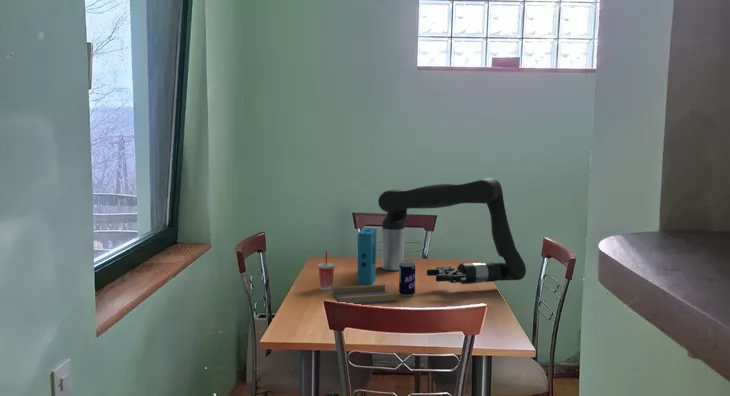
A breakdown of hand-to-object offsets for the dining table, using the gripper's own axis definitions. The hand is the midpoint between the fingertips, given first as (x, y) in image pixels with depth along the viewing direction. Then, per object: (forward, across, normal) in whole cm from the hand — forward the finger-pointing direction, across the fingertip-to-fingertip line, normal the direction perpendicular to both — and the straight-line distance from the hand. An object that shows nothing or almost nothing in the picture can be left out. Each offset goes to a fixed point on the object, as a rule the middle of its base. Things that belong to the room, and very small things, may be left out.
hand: (431, 275), depth 218 cm
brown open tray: (+25, 0, +6) cm, 26 cm away
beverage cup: (+35, -15, +7) cm, 39 cm away
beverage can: (+9, 0, +7) cm, 11 cm away
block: (+18, -20, +7) cm, 28 cm away
